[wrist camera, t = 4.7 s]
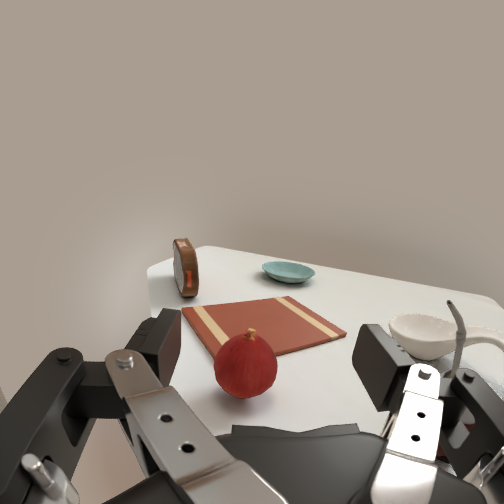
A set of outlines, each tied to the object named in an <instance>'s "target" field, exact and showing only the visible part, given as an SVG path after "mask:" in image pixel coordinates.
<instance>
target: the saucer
mask: <svg viewBox="0 0 504 504" xmlns="http://www.w3.org/2000/svg"><path fill="white" fill-rule="evenodd" d="M262 268H263V269H264V271H265V272H266V273H267V274H268V275H269V276H270V277H272V278H274V279H275V280H278V281H281V282H285V283H299V282H303V281H305V280H307V279H309V278H311V277H312V276H313V275H315V272H314V270H312V269H311V268H309V267H306V266H304V265H300V264H296V263H289V262H268V263H265V264H263V265H262Z"/></svg>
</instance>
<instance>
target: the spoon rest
mask: <svg viewBox="0 0 504 504" xmlns="http://www.w3.org/2000/svg"><path fill="white" fill-rule="evenodd" d="M464 326H465V329H466V342H465V343H464V344H463V348H464V347H466V346H469V345H472V344H476V343H490V344H494V345H496V346H497V347H499V348H500V349H501V350H502V351H503V352H504V334H503V333H501V332H499V331H497V330H495V329H491V328H486V327H479V326H469V325H464ZM389 329H390V332H391V334H392V337H393V338H394V339H396V341H397V342H398V343H399V344H400V345H401V347H403V349H404V350H405V351H406V352H407V353H408V354H410V355H411V356H413V357H415V358H418V359H421V360H434V359H436V358H439V357H442V356H445V355H447V354H449V353H452V352H454V351H455V350H456V342H455V340H456V331H457V330H458V328H457V324H456V323H453V322H449V321H446V320H443V319H440V318H437V317H432V316H427V315H422V314H402V315H398V316H396V317H394V318H392V319H391V320H390V322H389Z"/></svg>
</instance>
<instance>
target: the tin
mask: <svg viewBox="0 0 504 504" xmlns="http://www.w3.org/2000/svg"><path fill="white" fill-rule="evenodd" d="M173 249H174V263H173V266H174V275H175V279H176V283H177V286H178V289H179V292H180V294H181V296H183V297H187V296H197V294H198V287H199V275H198V263H197V257H196V252H195V249H194V248H193V246H192V245H191V243H190V242H189V240H188V239H187V238H186V239H175V240H174V242H173Z"/></svg>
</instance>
